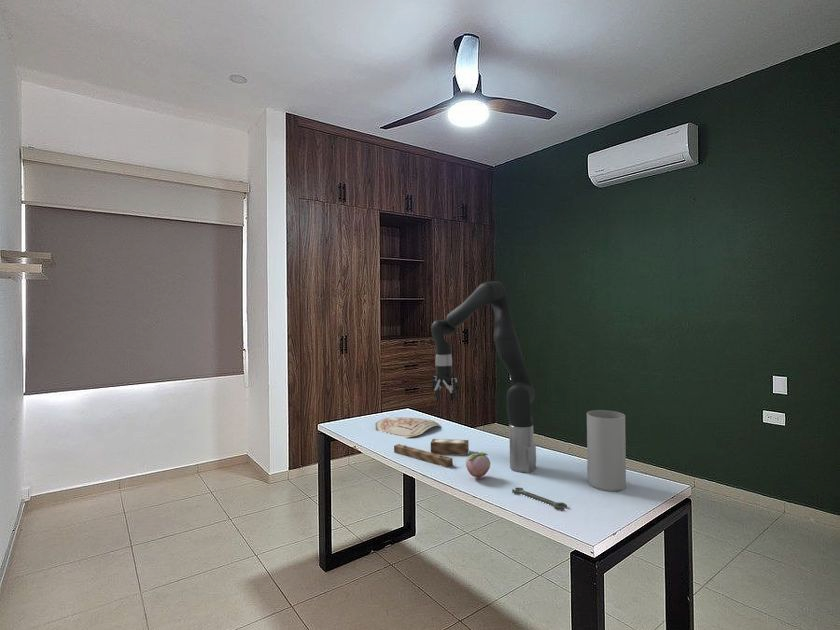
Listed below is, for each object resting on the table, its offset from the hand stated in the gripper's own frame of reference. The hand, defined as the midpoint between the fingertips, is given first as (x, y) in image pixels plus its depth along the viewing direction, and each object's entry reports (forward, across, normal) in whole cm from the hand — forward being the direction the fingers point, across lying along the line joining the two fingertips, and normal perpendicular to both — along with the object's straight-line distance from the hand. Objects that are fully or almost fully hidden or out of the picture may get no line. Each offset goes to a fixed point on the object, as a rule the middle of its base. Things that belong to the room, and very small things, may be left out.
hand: (445, 400), depth 202 cm
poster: (+22, -37, +12) cm, 45 cm away
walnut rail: (+22, +1, -18) cm, 28 cm away
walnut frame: (+22, +5, -3) cm, 23 cm away
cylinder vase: (+23, +69, +6) cm, 73 cm away
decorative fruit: (+22, +31, -19) cm, 43 cm away
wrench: (+23, +58, -21) cm, 65 cm away
